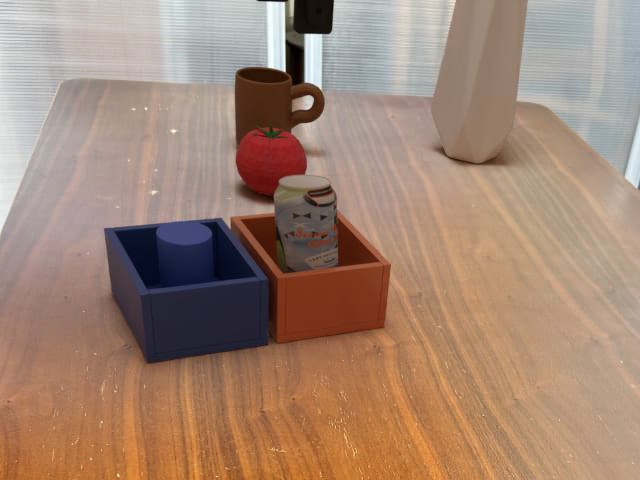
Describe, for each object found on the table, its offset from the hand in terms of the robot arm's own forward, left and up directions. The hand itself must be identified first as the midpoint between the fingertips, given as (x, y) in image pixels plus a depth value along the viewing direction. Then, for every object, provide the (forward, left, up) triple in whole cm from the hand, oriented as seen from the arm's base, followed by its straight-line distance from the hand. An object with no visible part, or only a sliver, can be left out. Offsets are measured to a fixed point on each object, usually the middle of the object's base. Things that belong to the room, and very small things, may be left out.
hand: (290, 16), depth 74 cm
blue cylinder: (-11, -2, -25) cm, 27 cm away
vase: (+41, +34, -26) cm, 59 cm away
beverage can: (+1, -2, -25) cm, 26 cm away
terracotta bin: (+2, -1, -26) cm, 26 cm away
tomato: (+8, +27, -26) cm, 38 cm away
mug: (+14, +40, -26) cm, 50 cm away
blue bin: (-11, -1, -26) cm, 28 cm away
